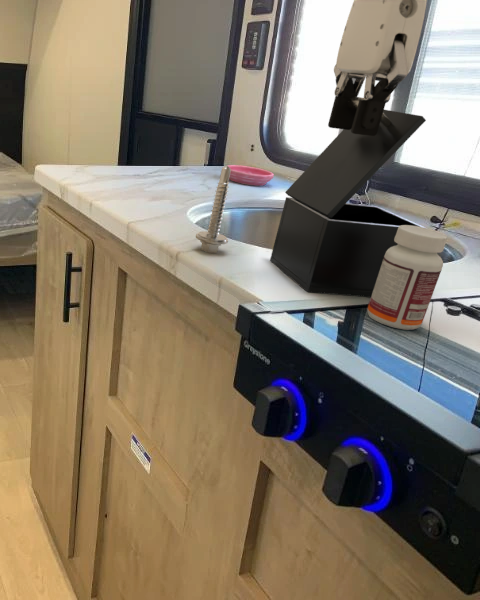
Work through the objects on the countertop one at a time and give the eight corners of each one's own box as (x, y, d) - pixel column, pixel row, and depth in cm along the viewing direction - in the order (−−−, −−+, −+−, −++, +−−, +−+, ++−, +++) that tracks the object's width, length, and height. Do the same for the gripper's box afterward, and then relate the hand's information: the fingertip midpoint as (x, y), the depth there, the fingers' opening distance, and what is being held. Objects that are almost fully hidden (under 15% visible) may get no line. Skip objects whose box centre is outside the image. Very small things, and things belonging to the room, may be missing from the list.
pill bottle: (417, 318, 74) (449, 231, 70) (422, 336, 69) (457, 242, 65) (364, 306, 76) (392, 220, 72) (365, 322, 71) (396, 230, 67)
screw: (190, 251, 90) (196, 243, 94) (222, 258, 89) (226, 249, 93) (208, 164, 85) (213, 160, 89) (242, 170, 84) (245, 166, 88)
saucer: (272, 189, 149) (275, 177, 148) (222, 181, 151) (224, 169, 150) (269, 181, 160) (272, 169, 159) (223, 174, 162) (225, 162, 161)
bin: (358, 268, 92) (378, 206, 89) (408, 300, 81) (432, 230, 77) (269, 260, 90) (285, 197, 87) (307, 292, 79) (328, 220, 75)
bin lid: (368, 109, 83) (345, 84, 81) (426, 120, 71) (400, 90, 70) (288, 195, 87) (264, 173, 85) (331, 218, 75) (304, 193, 73)
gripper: (474, -31, 63) (418, 144, 70) (382, -16, 79) (344, 126, 86) (409, -41, 62) (359, 137, 69) (329, -24, 78) (295, 121, 85)
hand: (351, 129), depth 77 cm, fingers closed on bin lid, 5 cm apart
